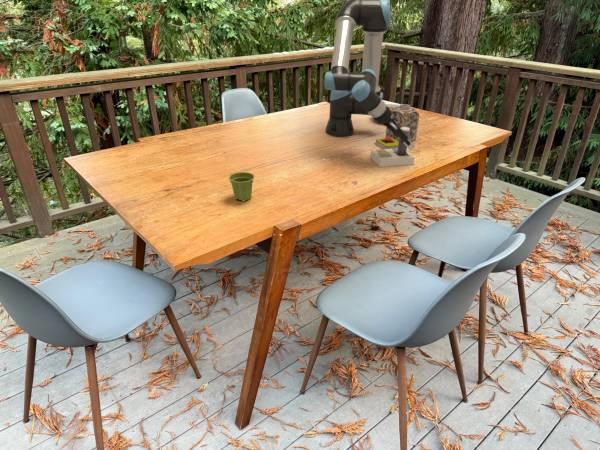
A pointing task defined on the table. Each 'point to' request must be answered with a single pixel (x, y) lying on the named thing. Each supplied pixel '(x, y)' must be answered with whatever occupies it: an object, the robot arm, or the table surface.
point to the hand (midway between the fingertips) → (410, 146)
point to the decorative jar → (404, 121)
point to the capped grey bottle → (401, 146)
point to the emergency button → (386, 143)
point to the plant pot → (242, 185)
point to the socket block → (391, 158)
